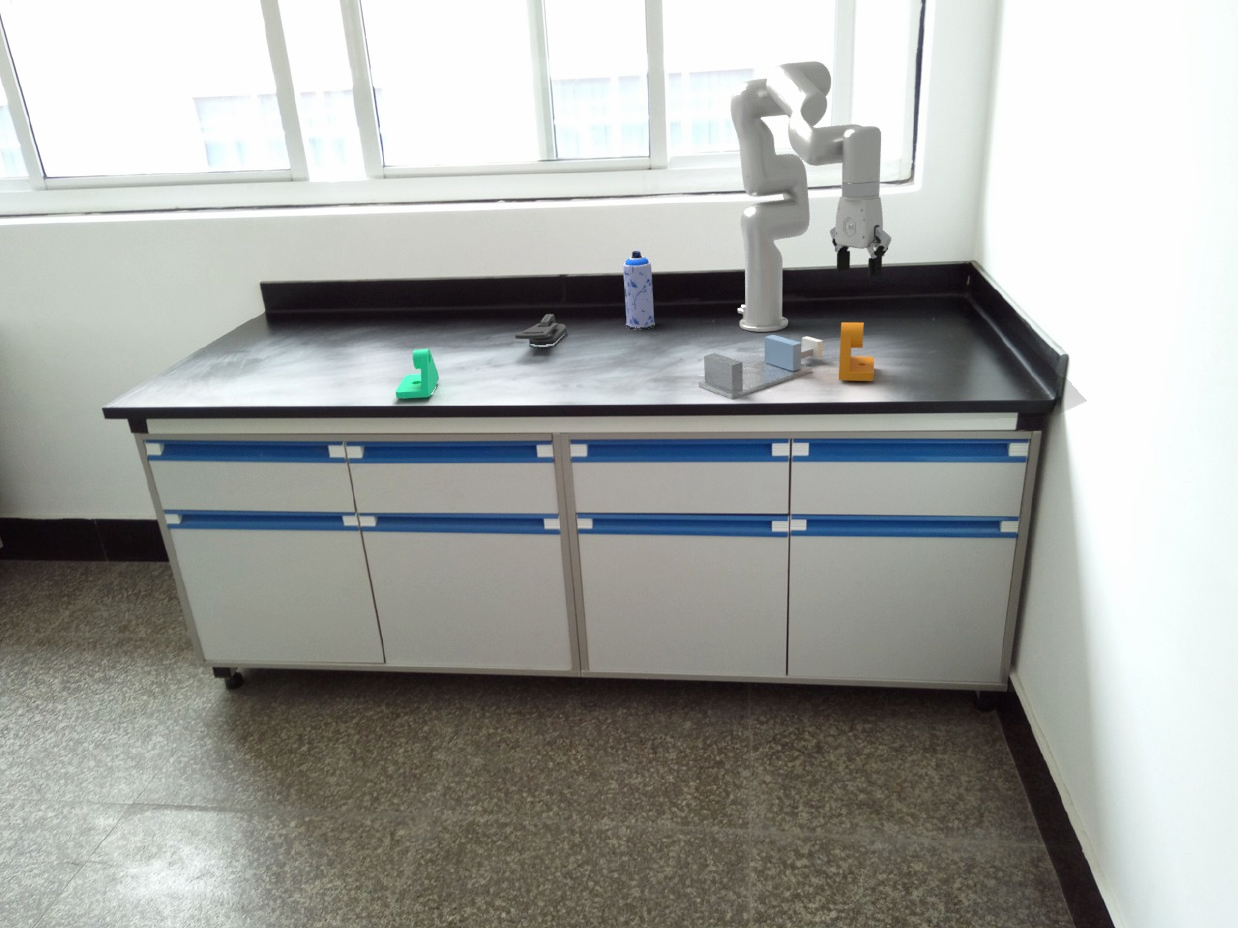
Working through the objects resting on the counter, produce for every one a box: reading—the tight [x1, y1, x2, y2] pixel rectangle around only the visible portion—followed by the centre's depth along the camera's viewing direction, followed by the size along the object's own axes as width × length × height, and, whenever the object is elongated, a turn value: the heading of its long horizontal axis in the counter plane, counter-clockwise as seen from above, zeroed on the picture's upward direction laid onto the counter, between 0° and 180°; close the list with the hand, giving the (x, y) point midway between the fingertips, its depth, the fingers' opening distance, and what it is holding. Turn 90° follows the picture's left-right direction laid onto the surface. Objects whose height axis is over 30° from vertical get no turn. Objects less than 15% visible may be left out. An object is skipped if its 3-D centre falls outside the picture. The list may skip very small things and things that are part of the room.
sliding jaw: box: [764, 334, 824, 371], centre depth 207 cm, size 9×12×6 cm
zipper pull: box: [514, 313, 567, 345], centre depth 235 cm, size 9×7×25 cm
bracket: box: [838, 322, 875, 382], centre depth 198 cm, size 11×7×12 cm, turn 165°
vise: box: [698, 352, 813, 399], centre depth 201 cm, size 11×24×7 cm, turn 125°
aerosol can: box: [622, 250, 656, 328], centre depth 243 cm, size 8×8×20 cm
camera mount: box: [395, 348, 440, 399], centre depth 207 cm, size 12×8×10 cm, turn 0°
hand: (858, 273), depth 194 cm, fingers open, 9 cm apart
